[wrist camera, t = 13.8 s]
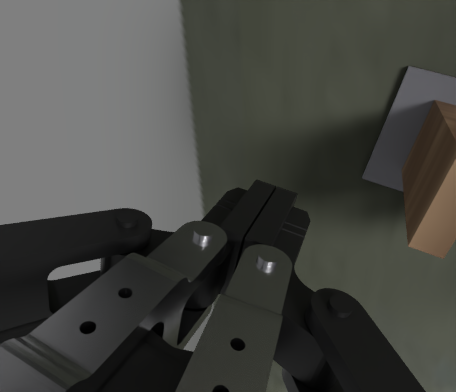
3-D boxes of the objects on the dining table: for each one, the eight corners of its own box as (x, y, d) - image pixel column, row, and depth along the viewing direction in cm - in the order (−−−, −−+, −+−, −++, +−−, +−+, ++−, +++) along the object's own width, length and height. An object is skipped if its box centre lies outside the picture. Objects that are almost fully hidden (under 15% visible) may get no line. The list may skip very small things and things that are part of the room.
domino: (401, 169, 26) (407, 246, 18) (434, 99, 24) (460, 150, 15) (425, 177, 26) (443, 258, 17) (461, 107, 23) (502, 162, 15)
